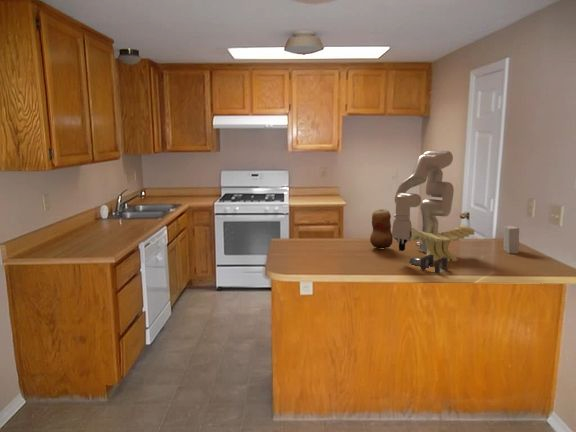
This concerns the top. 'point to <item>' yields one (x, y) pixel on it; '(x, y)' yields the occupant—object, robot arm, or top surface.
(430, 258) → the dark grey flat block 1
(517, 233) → the skincare box
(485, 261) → the top surface
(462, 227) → the slatted curved stool
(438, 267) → the dark angular blocks
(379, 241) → the butternut squash
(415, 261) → the tube
